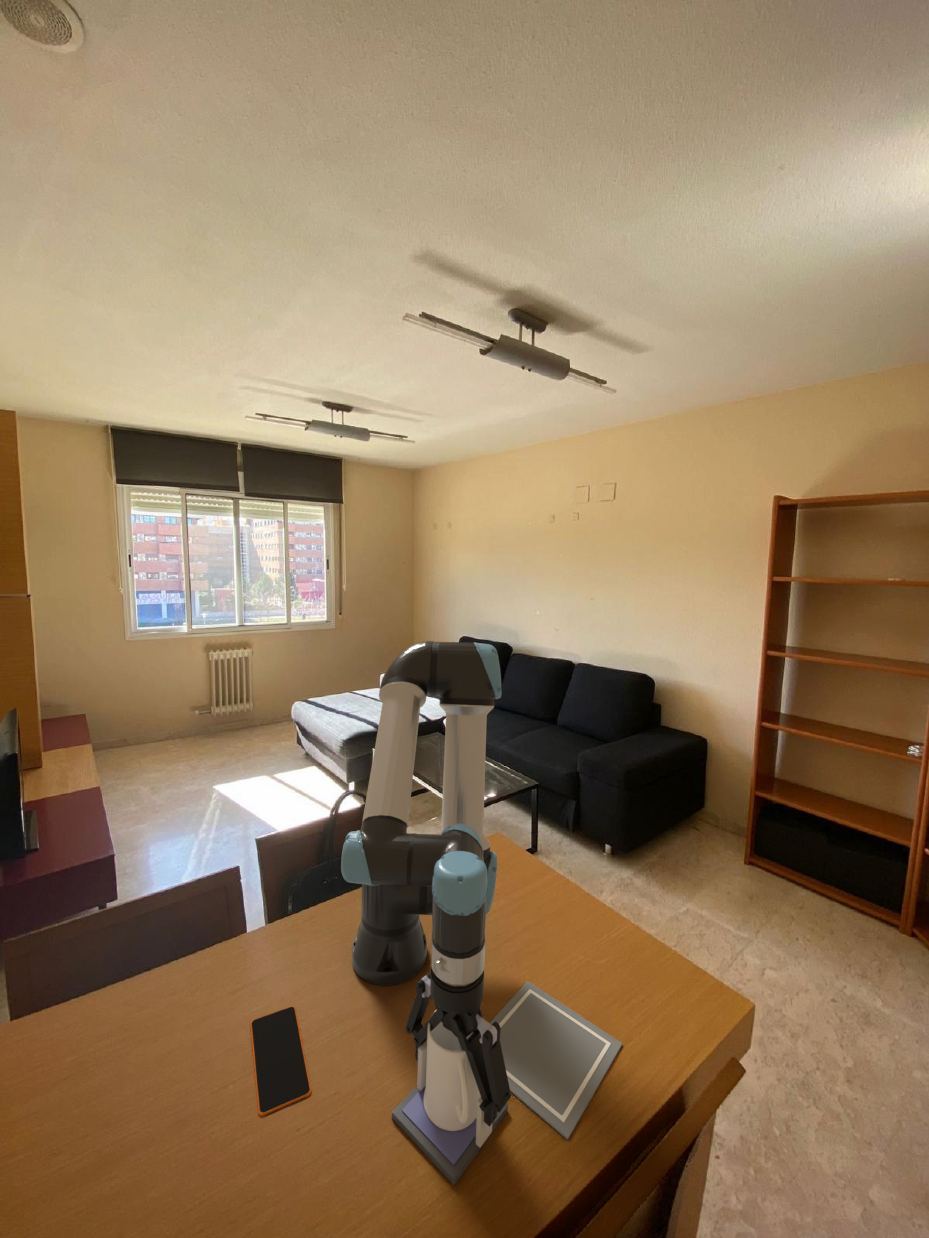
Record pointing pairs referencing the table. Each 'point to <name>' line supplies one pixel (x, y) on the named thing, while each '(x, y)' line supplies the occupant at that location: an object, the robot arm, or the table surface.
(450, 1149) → the ink pad
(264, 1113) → the smartphone
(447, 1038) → the mug
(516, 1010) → the print mat
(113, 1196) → the table surface
